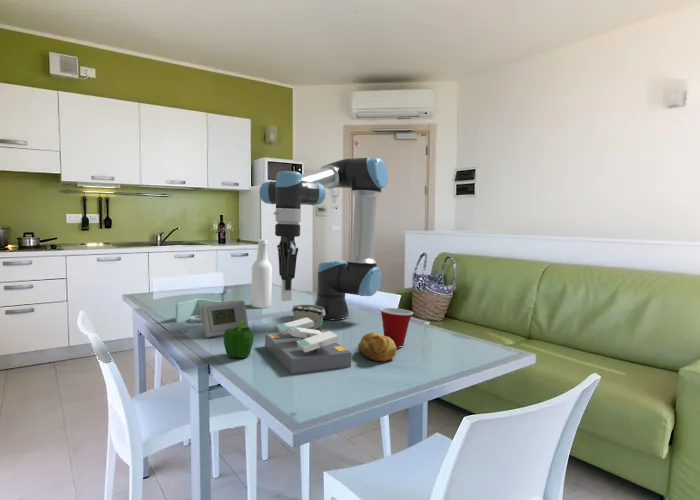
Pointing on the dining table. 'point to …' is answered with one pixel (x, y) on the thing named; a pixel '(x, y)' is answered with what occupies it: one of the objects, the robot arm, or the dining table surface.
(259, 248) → the alcohol
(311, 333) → the rocker
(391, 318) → the plastic cup
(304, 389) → the dining table surface
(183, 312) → the l-shaped corner panel
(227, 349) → the bell pepper
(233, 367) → the dining table surface
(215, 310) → the digital clock
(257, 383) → the dining table surface
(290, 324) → the rocker
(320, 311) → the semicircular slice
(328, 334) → the white rectangular block
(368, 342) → the bread roll
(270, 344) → the switch unit
